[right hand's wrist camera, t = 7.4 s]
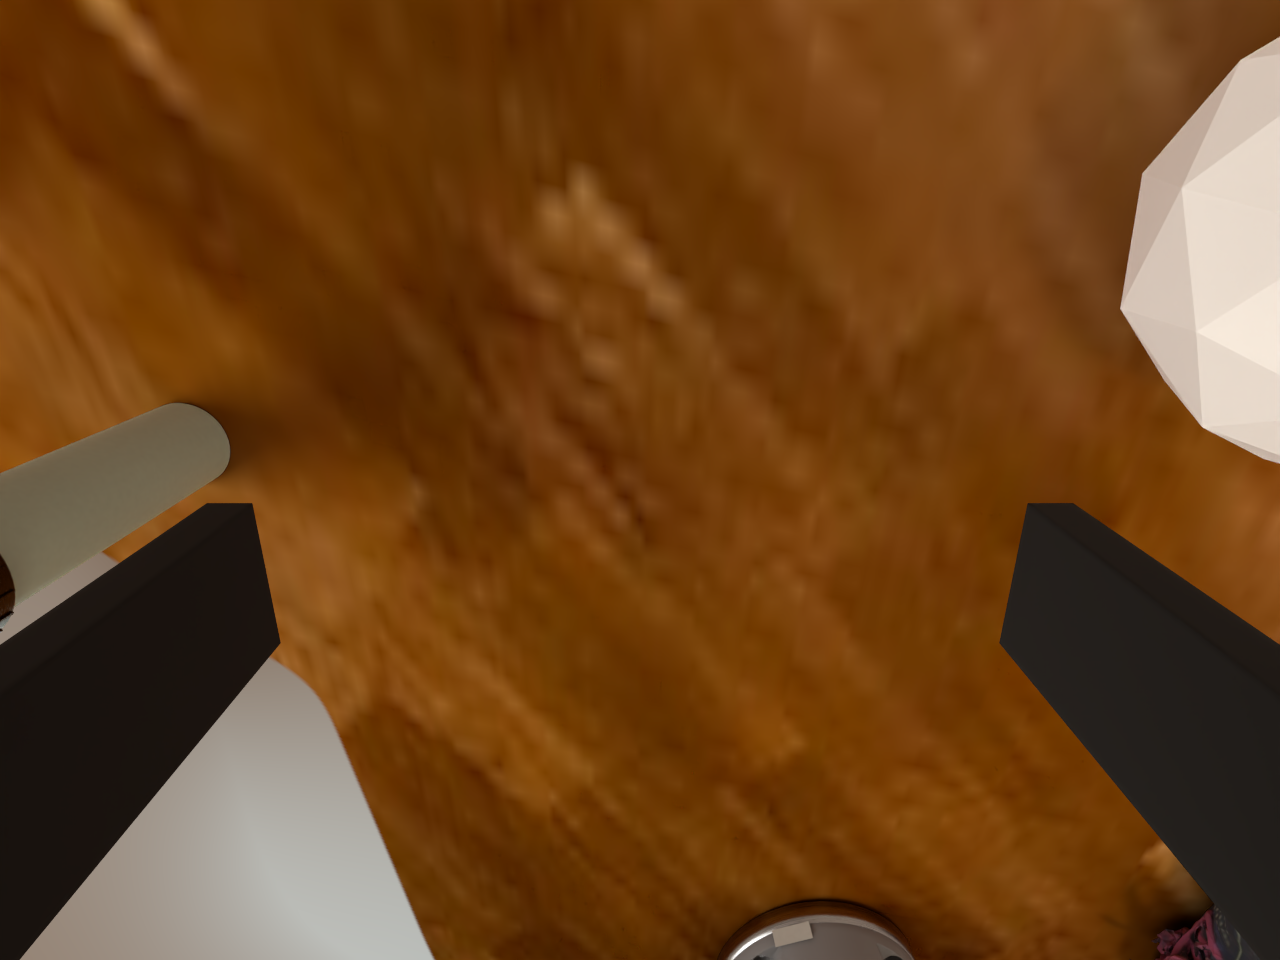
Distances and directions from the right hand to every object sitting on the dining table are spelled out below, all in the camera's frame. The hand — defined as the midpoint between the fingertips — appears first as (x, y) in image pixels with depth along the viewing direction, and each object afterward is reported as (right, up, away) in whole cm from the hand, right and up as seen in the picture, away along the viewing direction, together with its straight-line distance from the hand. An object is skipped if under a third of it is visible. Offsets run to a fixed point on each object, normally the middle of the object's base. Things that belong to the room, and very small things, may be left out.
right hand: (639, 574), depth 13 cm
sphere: (+30, +14, +25) cm, 42 cm away
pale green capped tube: (-26, +4, +29) cm, 39 cm away
